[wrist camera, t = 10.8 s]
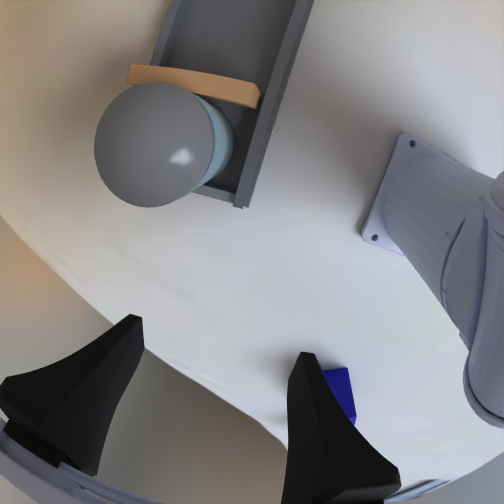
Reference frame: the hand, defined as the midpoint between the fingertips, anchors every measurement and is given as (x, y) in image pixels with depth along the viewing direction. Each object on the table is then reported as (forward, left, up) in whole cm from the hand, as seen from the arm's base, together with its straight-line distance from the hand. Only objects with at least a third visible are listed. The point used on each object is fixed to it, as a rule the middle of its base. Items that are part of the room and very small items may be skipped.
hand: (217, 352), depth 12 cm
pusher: (+5, -10, -9) cm, 14 cm away
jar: (+5, -7, -8) cm, 12 cm away
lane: (+5, -14, -9) cm, 18 cm away
